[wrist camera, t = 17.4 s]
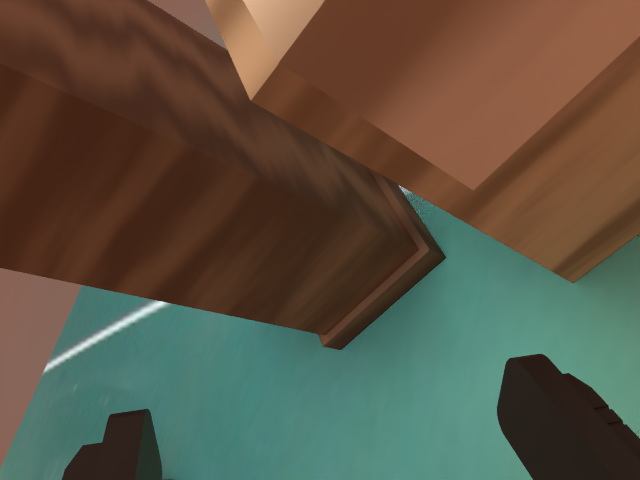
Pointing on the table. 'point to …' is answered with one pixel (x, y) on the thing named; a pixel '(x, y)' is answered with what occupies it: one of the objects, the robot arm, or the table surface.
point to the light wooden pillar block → (509, 178)
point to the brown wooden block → (450, 66)
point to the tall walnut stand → (185, 178)
